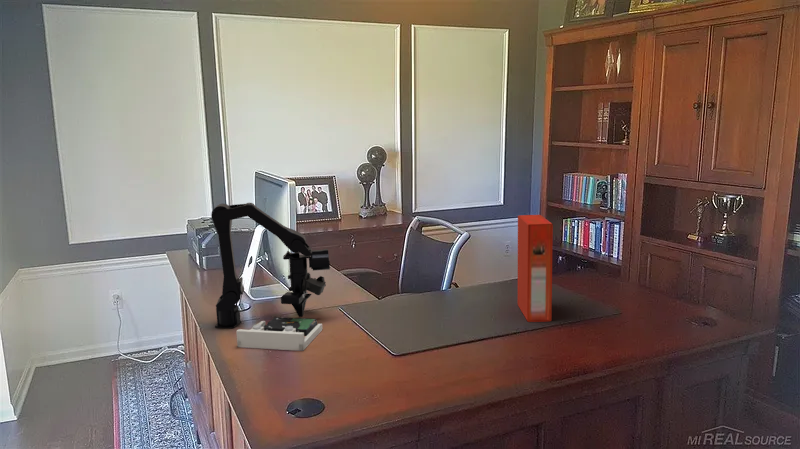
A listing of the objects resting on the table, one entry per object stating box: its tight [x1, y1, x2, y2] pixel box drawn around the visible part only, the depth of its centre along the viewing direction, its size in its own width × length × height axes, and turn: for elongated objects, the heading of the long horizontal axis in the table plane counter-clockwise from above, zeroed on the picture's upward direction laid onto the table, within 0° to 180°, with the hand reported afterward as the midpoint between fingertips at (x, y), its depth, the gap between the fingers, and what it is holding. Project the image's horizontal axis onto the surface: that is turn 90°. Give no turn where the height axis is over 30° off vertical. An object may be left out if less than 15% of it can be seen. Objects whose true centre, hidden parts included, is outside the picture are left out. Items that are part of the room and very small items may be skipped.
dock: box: [236, 320, 323, 352], centre depth 182 cm, size 20×18×6 cm
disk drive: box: [264, 316, 318, 337], centre depth 189 cm, size 10×3×15 cm
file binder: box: [517, 214, 554, 323], centre depth 197 cm, size 8×17×32 cm, turn 179°
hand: (300, 316), depth 198 cm, fingers closed
